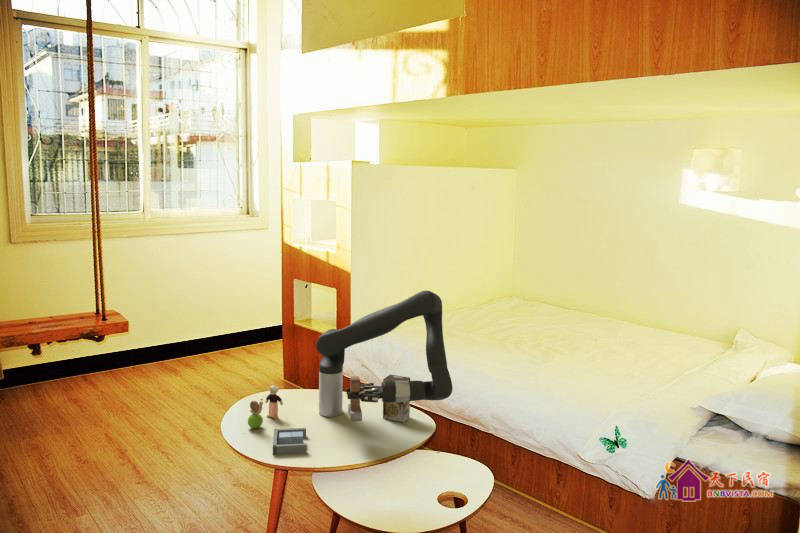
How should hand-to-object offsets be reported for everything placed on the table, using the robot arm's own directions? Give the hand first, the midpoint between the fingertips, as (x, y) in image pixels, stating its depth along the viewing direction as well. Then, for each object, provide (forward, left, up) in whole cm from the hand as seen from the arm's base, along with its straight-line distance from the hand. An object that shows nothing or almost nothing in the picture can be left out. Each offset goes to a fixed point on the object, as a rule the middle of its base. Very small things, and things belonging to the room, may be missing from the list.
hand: (347, 393), depth 214 cm
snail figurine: (-16, -32, -18) cm, 40 cm away
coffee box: (-20, +21, -18) cm, 34 cm away
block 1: (0, -21, -18) cm, 28 cm away
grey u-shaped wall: (0, -19, -18) cm, 26 cm away
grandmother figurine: (-26, -26, -18) cm, 41 cm away
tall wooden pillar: (0, +3, -8) cm, 9 cm away
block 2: (0, -17, -18) cm, 25 cm away
